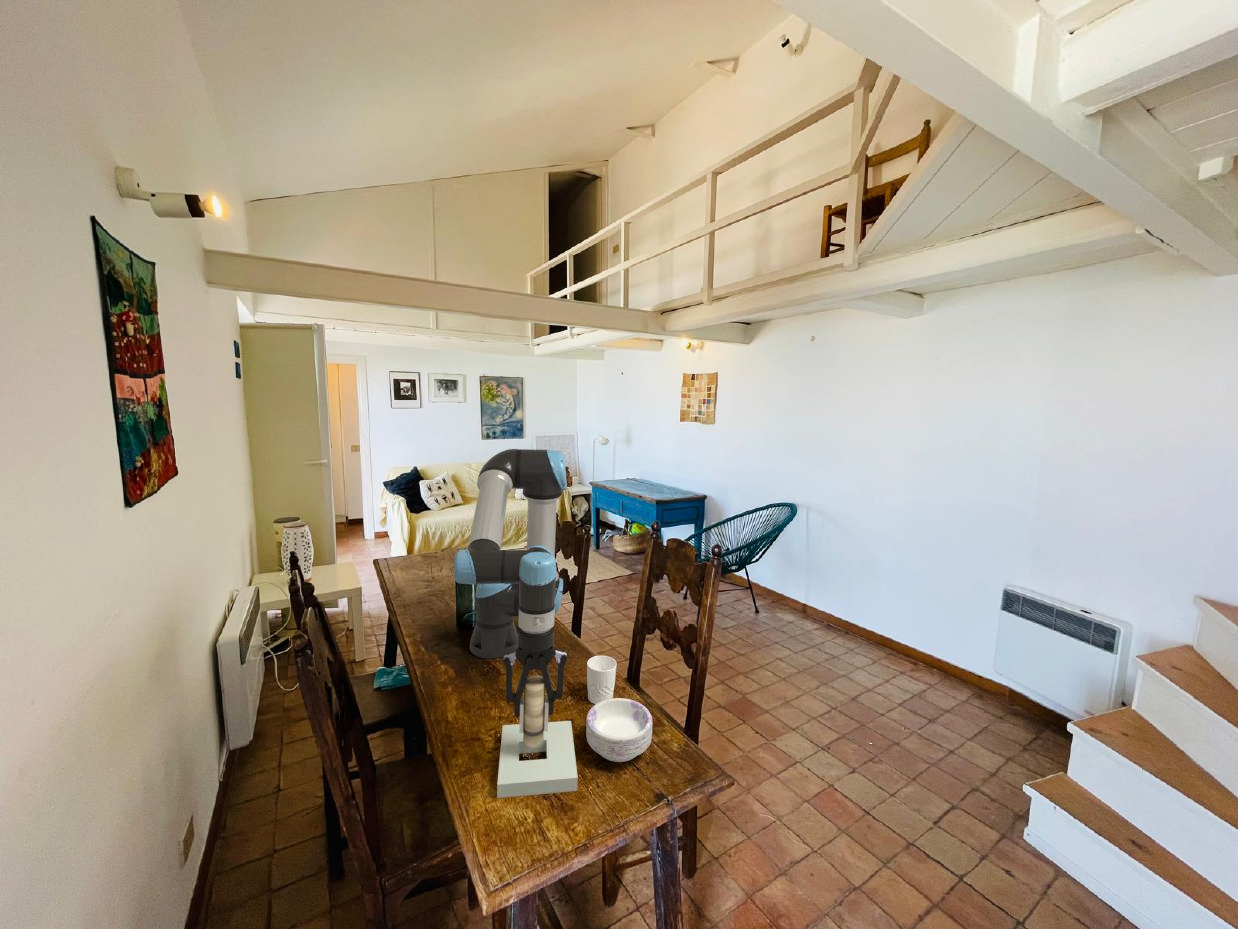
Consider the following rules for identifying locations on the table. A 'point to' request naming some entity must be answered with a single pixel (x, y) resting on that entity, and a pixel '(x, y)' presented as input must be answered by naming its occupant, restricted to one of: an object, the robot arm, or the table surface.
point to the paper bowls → (619, 729)
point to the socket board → (537, 763)
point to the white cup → (600, 678)
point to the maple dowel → (534, 712)
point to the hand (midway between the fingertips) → (533, 728)
